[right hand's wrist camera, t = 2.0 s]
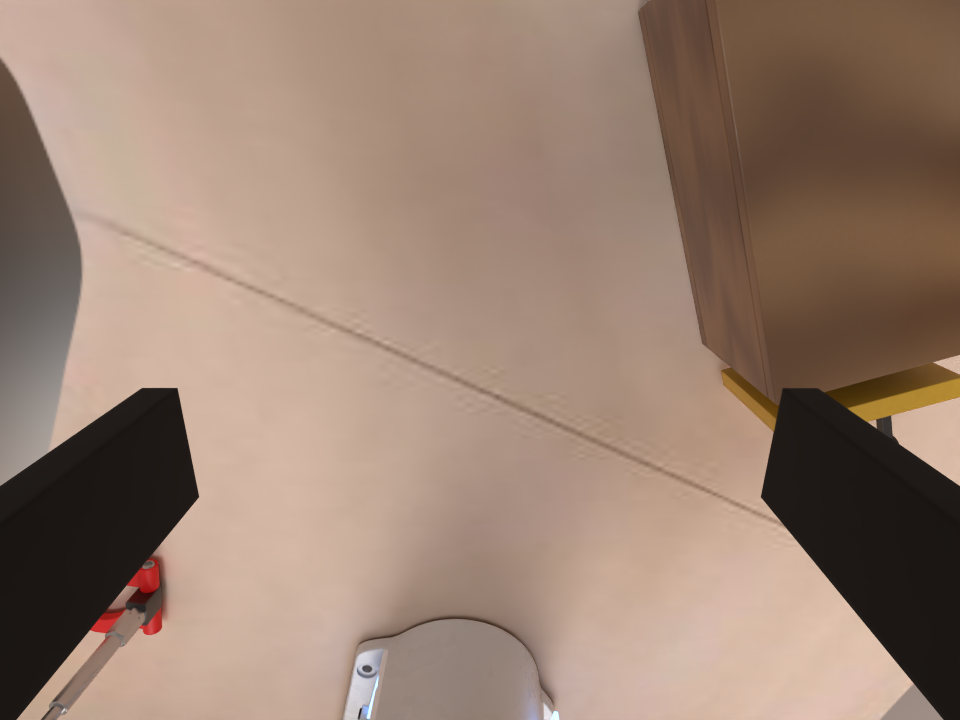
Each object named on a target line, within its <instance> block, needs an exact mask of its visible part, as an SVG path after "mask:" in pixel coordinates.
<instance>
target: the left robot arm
mask: <svg viewBox="0 0 960 720" xmlns="http://www.w3.org/2000/svg"><path fill="white" fill-rule="evenodd" d="M342 720H559V717H558V712H555V711H554V705H553V703H552V701H551V700H550V698H549V697H548V696H547V694H546V693H545V692H544V691H543V690H542V688H541V686H540V682H539V676H538V670H537V667H536V664H535V661H534V659H533V657H532V656H531V654H530V653H529V651H528V650H527V649H526V647H525V646H524V645H523V644H522V643H521V642H520V641H519V640H517V639H516V638H515V637H514V636H512V635H511V634H509V633H507V632H506V631H504V630H502V629H500V628H498V627H495V626H493V625H490V624H487V623H483V622H479V621H474V620H467V619H444V620H437V621H432V622H428V623H425V624H422V625H419V626H416V627H414V628H412V629H410V630H408V631H406V632H404V633H402V634H399V635H397V636H394V637H390V638H381V639H374V640H369V641H365V642H363V643H361V644H360V645H359V646H358V648H357V650H356V655H355V660H354V665H353V669H352V674H351V679H350V684H349V689H348V693H347V698H346V703H345V708H344V712H343V717H342Z"/></svg>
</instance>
